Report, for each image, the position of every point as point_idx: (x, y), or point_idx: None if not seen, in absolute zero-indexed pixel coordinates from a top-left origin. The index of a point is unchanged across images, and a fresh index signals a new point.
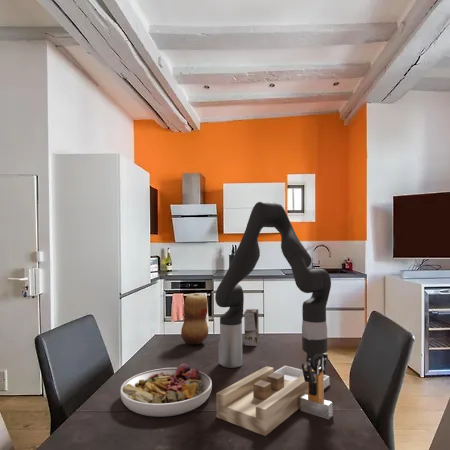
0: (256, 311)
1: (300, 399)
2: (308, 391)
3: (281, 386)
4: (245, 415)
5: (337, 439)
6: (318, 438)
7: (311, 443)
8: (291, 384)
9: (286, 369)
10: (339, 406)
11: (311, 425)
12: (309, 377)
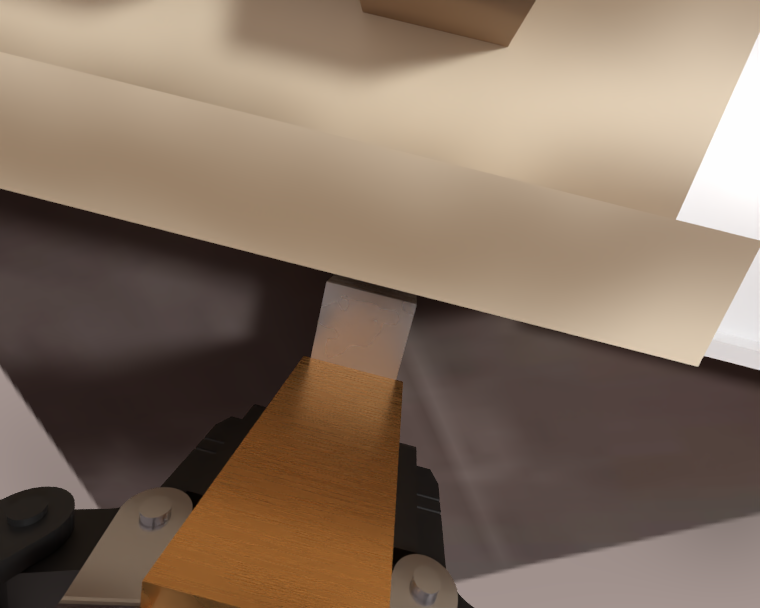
0: None
1: (329, 280)
2: (274, 399)
3: (446, 16)
4: None
5: (136, 491)
6: (93, 413)
7: (32, 388)
8: (344, 179)
9: None
10: (508, 482)
11: (197, 362)
12: (127, 565)
